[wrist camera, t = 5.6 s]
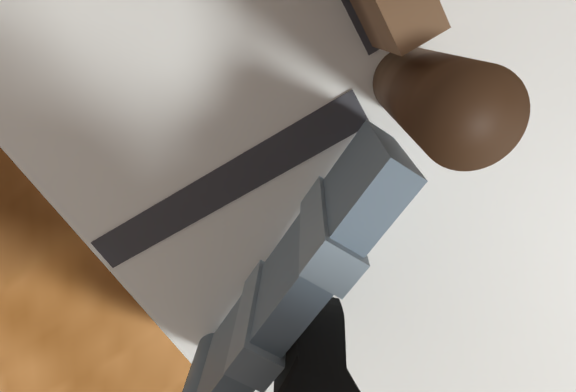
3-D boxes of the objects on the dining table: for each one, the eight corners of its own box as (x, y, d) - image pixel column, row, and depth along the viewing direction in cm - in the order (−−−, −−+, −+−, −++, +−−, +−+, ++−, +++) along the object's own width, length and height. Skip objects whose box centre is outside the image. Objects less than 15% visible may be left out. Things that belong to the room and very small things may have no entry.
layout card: (748, 322, 13) (760, 330, 12) (300, 479, 16) (300, 488, 16) (518, -684, 6) (531, -725, 6) (-149, -35, 10) (-164, -37, 9)
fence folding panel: (224, 367, 13) (197, 483, 10) (191, 352, 13) (152, 463, 10) (398, 139, 10) (444, 196, 7) (358, 113, 10) (386, 158, 7)
